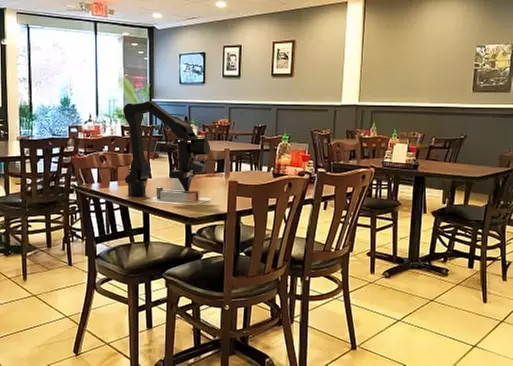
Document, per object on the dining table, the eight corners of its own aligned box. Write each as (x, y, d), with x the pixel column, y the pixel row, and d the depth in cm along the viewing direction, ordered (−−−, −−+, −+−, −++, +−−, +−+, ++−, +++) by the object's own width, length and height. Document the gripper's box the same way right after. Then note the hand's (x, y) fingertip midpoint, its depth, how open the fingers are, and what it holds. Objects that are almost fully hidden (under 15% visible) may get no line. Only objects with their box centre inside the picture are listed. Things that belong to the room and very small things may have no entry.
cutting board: (141, 202, 209) (141, 200, 209) (163, 195, 226) (163, 194, 226) (195, 206, 201) (195, 205, 201) (213, 199, 218) (213, 198, 218)
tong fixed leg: (160, 200, 211) (160, 191, 211) (162, 199, 213) (162, 190, 213) (193, 202, 207) (193, 193, 206) (195, 201, 209) (195, 193, 208)
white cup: (175, 191, 237) (175, 176, 236) (169, 190, 243) (168, 175, 242) (189, 190, 241) (189, 175, 240) (182, 188, 247) (182, 174, 246)
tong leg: (155, 198, 214) (155, 188, 213) (158, 197, 217) (157, 187, 216) (198, 200, 211) (198, 190, 210) (199, 199, 213) (199, 189, 213)
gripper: (193, 157, 200) (195, 196, 203) (211, 152, 218) (213, 189, 220) (167, 157, 204) (170, 196, 206) (187, 152, 221) (190, 188, 224)
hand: (187, 192), depth 214 cm, fingers closed
